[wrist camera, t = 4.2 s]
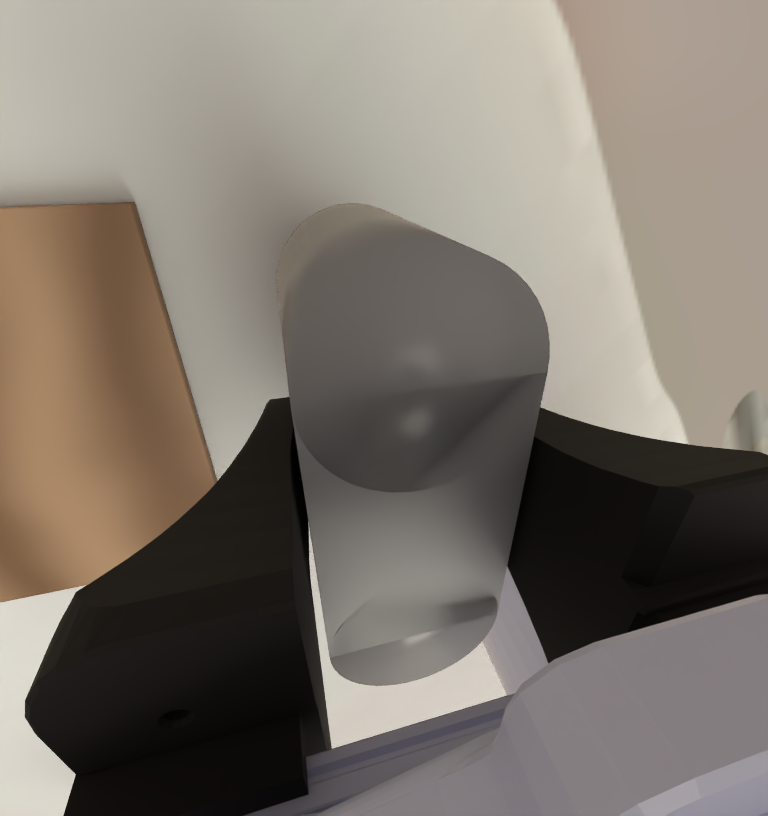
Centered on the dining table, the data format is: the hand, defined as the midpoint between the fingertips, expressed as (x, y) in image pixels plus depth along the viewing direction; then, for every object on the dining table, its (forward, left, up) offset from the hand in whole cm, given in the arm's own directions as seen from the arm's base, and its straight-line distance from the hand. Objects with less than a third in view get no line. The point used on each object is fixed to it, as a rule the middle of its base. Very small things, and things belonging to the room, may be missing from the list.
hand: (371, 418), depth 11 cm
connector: (0, 0, -2) cm, 2 cm away
